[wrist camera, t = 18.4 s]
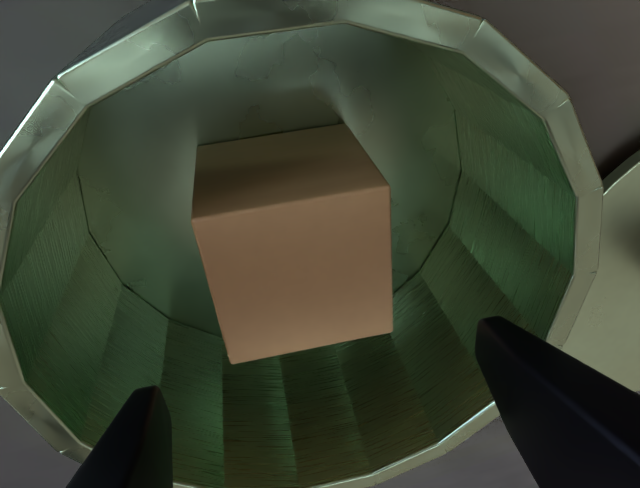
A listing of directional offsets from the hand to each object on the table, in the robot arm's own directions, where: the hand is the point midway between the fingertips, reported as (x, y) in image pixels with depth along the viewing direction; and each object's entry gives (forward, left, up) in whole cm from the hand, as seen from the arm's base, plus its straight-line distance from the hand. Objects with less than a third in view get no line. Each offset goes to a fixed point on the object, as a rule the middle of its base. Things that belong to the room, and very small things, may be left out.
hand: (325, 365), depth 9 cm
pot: (0, 0, -8) cm, 8 cm away
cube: (0, 0, -7) cm, 7 cm away
